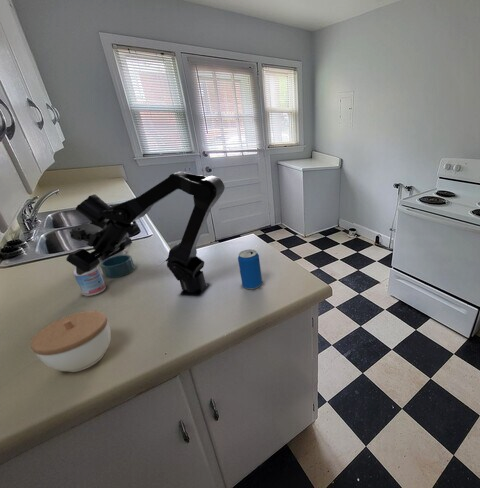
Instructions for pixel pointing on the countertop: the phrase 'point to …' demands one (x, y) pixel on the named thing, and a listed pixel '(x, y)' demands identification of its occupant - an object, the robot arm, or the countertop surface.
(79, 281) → the pill bottle
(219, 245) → the countertop surface
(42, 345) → the lidded bowl
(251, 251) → the beverage can
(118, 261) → the bottle holder
